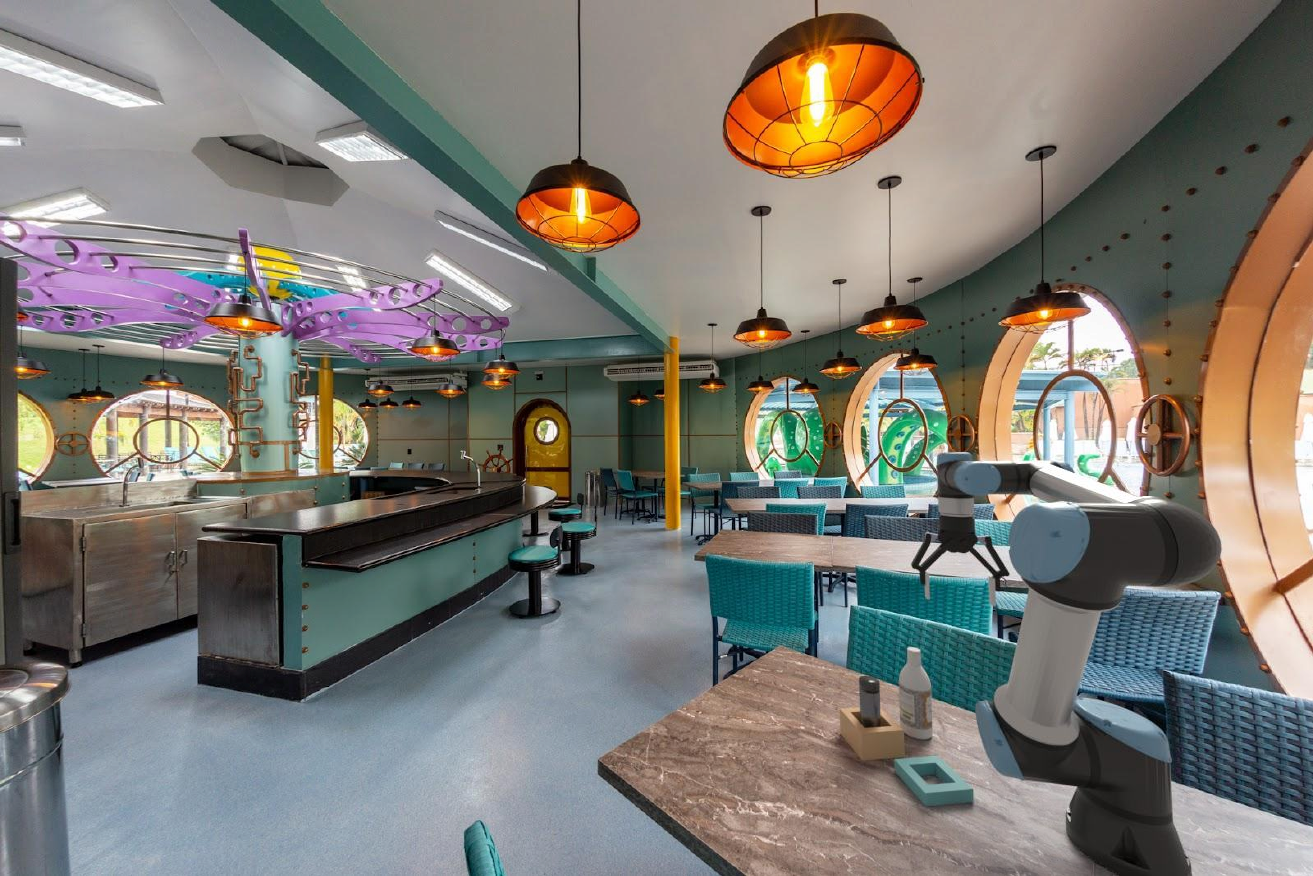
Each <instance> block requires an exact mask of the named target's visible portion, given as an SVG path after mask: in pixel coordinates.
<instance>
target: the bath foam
mask: <svg viewBox="0 0 1313 876" xmlns="http://www.w3.org/2000/svg"><path fill="white" fill-rule="evenodd" d="M906 656H907V657H906V661H907V663H906V664H905V665H904V666H903V668H902V669H901V671H900V672H899V676H898V702H899V723H900V724H899V726H900V727H901V728H902V729H903V730H904V735H907V736H908V737H910V738H914V739H915V740H916V739H917V740H929V739H930V738H932V736H933V734H934V733H933V730H934V729H933V705H932V702H933V700H932V696H933V695H932V685H931V680H930V678H929V675H928V674H927V672H926V670H925V669H924V667H923V666H922V654H921V649H919V648H918V647H913V646H908V647H906Z"/></svg>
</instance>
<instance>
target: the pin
mask: <svg viewBox="0 0 1313 876" xmlns="http://www.w3.org/2000/svg"><path fill="white" fill-rule="evenodd" d="M880 682H881V681H880V680H879V679H878V678H876V677H874V676H871V675H862V676H859V677H858V689H859V691H858V692H859V707H860V723H861V724H862V725H863V726H864V728H872V727H881V716H880V708H881V689H880V688H881V686H880V684H881V683H880Z"/></svg>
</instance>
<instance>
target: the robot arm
mask: <svg viewBox="0 0 1313 876" xmlns="http://www.w3.org/2000/svg"><path fill="white" fill-rule="evenodd" d="M935 468H936V477H937V478H936V479H937V482H936V483H937V506H938V508H937V509H938V510H937V511H938V512H939V513H940V514H939V515H938V532H937V533H932V532H929V531H926V532H925V533H924V539H923V541H922V543H921V545H920V547H919V549H918V550H917V552H916V554H915V556H914V557H913V560H912V561H911V563H910V565H911V568H912V569H913V570H917V571H918V573H919V583H920V585H923V586H924V596H925V600H930V599H931V597H930V594H931V593H930V573H929V570H928V569H930V568H931V566H933V564H934V563H935V562H937V561H938V560H939V558H941V556H943V555H944V554H945V553H946V552H950V553H954V554H955V553H960V554H967V553H969V552H970V553H971V554H972V555H973V556H974V557H975V558H976V560H978V562H980V564H982V566H983V567H984V568H985V569H987V571H989V573H990V574H991V575H988V576H987V577H988V599H989V600H988V601H989V604H990V605H991V606H992V607H996V606H997V598H996V596H997V595H996V592H1001V579H1002V578H1004V577H1010V572H1009V570H1008V568H1007V567H1006V565H1005V564H1004V562H1003V560H1002V558H1001V557H1000V555H999V553H998V552H997V551H996V549H995V547H994V546H993V541H992V537H991V536H990V535H988V534H984V535H977V534H976V523H975V522H976V521H975V520H976V518H975V517H974V514H975V500H974V499H975V497H976V496H979V497H981V496H988V495H1021V496H1022V495H1023V496H1024V495H1025V496H1026V495H1027V496H1028V495H1029V496H1033V497H1035V498H1038V499H1039V500H1042V501H1044V502H1040V503H1039V502H1038V503H1032V504H1030V505H1027V506H1026V507H1024V508H1022V509H1021V510H1020V511H1019V512H1018V513H1017V514H1016V515H1015V517H1014V518H1013V520H1012V523H1011V525H1010V528H1009V533H1008V537H1007V540H1008V541H1007V545H1009V549H1008V554H1009V555H1008V556H1009V560H1010V562H1011V565H1012V567H1013V568H1014V570H1015V571H1016V573H1017V574H1018V576H1020V579H1021V581H1022V582H1023V584H1024V585H1025V586H1026V587H1027V588H1028V593H1027V597H1026V602H1025V606H1024V609H1023V614H1022V619H1021V624H1020V629H1019V633H1018V637H1017V642H1016V646H1015V650H1014V654H1013V655H1014V656H1013V660H1012V665H1011V670H1010V672H1009V678H1008V682H1007V683H1004V684H1002V685H1000V686H999V687H997V689H996V690H995V692H994V696H993V699H992V701H988V700H987V699H984V700H979V701H977V702H976V704H975V720H976V724H977V730H978V733H979V737H980V740H981V742H982V746H983V749H984V751H985V753H986V756H987V758H988V760H989V762H990V763H991V765H992V766H993V768H994V769H995V770H996V772H998V773H999V774H1000V775H1002V776H1004V777H1008V778H1013V779H1018V780H1021V781H1023V782H1025V781H1030V782H1039V783H1045V784H1046V783H1047V784H1053V785H1062V786H1069V787H1076V788H1075V791H1074V793H1073V795H1072V796H1071V797H1072V798H1071V800H1070V802H1069V805H1068V807H1067V809H1066V811H1065V829H1066V833H1067V834H1068V836H1069V839H1070V840H1071V841H1072V842H1073V843H1074V844H1075V846H1076V847H1078V849H1079V848H1080V849H1079V850H1081V852H1083V853H1084V855H1086V856H1087V855H1088V856H1087V857H1088V858H1090V859H1091V858H1092V859H1091V860H1093V861H1094V862H1095V861H1096V863H1097V862H1098V863H1099V865H1100V866H1101V865H1103V866H1104V868H1105V869H1106V868H1107V869H1106V870H1108V871H1110V872H1111V873H1113V874H1115V875H1117V876H1119V875H1120V876H1193V873H1192V863H1191V860H1190V858H1189V855H1188V854H1187V851H1186V850H1185V849H1184V847H1183V844H1182V842H1181V839H1180V836H1179V833H1178V830H1177V828H1176V825H1175V824H1174V817H1173V794H1172V791H1173V790H1172V774H1171V769H1172V768H1171V763H1172V761H1173V758H1172V757H1171V751H1170V744H1169V739H1168V737H1167V735H1166V734H1165V733H1164V731H1163V730H1162V728H1160V727H1159V726H1158V725H1156V724H1155V723H1154V722H1152V721H1151V720H1149V719H1148V718H1146V717H1144V716H1142V715H1140V714H1139V713H1137V712H1134V711H1132V710H1129V709H1127V708H1125V707H1122V706H1121V705H1120V706H1119V705H1117V704H1115V703H1110V702H1109V701H1103V700H1101V699H1096V698H1091V697H1079V698H1077V696H1078V692H1079V689H1080V685H1081V682H1082V678H1083V675H1084V672H1085V669H1086V665H1087V662H1088V659H1089V655H1090V652H1091V648H1092V645H1093V642H1094V638H1095V635H1096V633H1097V629H1098V625H1099V622H1100V619H1101V615H1102V613H1103V612H1109V611H1113V610H1114V609H1116V608H1118V606H1119V605H1120V603H1121V602H1122V598H1123V594H1124V592H1125V589H1126V588H1128V587H1149V588H1151V587H1152V588H1172V587H1179V586H1185V585H1189V584H1191V583H1194V582H1197V581H1198V580H1201V579H1202V578H1204V577H1206V576H1207V575H1209V574H1210V573H1211V572H1212V571H1213V570H1214V569H1215V567H1216V566H1217V564H1218V563H1219V561H1220V559H1221V555H1222V551H1223V549H1222V541H1221V538H1220V536H1219V533H1218V531H1217V529H1216V528H1215V527H1214V525H1213V524H1212V523H1211V522H1210V521H1209V520H1208V519H1207V518H1206V517H1205V516H1203V515H1202V514H1201V513H1199V512H1197V511H1195V510H1194V509H1192V508H1190V507H1188V506H1185V505H1183V504H1180V503H1177V502H1174V501H1172V500H1168V499H1166V498H1163V497H1159V496H1152V495H1151V496H1138V495H1135V494H1133V493H1130V492H1126V491H1124V490H1122V489H1119V488H1116V487H1113V486H1110V485H1108V484H1105V483H1102V482H1099V481H1097V480H1095V479H1091V478H1090V477H1089V478H1088V477H1086V476H1084V475H1081V474H1078V473H1075V470H1074V468H1073V467H1072V466H1071V464H1069V463H1068V462H1067V461H1063V460H1052V459H1042V460H973V456H972V454H971V453H970V452H967V451H966V452H962V451H961V452H940V453H938V454H937V455H936V466H935ZM936 539H937V540H938V541H939V543H940V544H939V545H938V546H937V548H936V549H935V550H934V551H933V552H932V553H931V554H930V555H929V556H928V557H927V558H926V559H925V560H924V561H923V562H922V560H923V559H924V556H925V555H926V553H927V551H928V549H929V547H930V545H931V543H933V542H935V540H936ZM978 542H979V543H980V544H981V545H983V546H984V547H985V548H986V550H987V552H988V553H989V555H990V557H991V558H992V560H993V561H994V563H995V565H996V566H997V568H998V570H996V569H995V568H994V567H993V566H992V564H990V563H989V561H987V560H986V559H985V557H983V555H981V554H980V553H979V551H977V549H975V548H974V547H975V546H976V545H977V543H978ZM921 562H922V563H921ZM1098 863H1097V864H1098ZM1103 866H1102V867H1103Z"/></svg>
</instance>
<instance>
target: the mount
mask: <svg viewBox="0 0 1313 876" xmlns="http://www.w3.org/2000/svg"><path fill="white" fill-rule="evenodd" d="M893 762H894V763H893V765H894V772H895V774H897V776H898V777H899V778H900V779H901V780H902V781H903V783H905V784H906V786H907V787H908V788H909V789H910V790H911V791H912V793H913V794H915V796H916V797H917V798H918V799H919V801H920V802H921V803H922V804H923V805H924V806H925V807H931V806H932V807H933V806H934V807H935V806H944V805H953V804H954V805H956V804H964V803H965V804H966V803H967V804H968V803H974V802H975V801H974V797H975V796H974V788H973V787H972V786H971V785H970V784H969V783H967V782H966V780H965V779H963V778H962V777H961V776H960V775H959V774H958V773H957V772H956V771H955V770H953V768H951V767H950V765H948V763H946V762H945V761H944V760H943V759H942V758H941V757H940V756H938V755H930V756H920V757H919V756H917V757H906V758H905V757H902V758H893ZM935 775H936V777H938V779H940V781H942V782H943V783H933V784H928V783H927V782H926V781H925V780H924V779H923V778H922V777H923V776H924V777H925V776H935Z"/></svg>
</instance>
